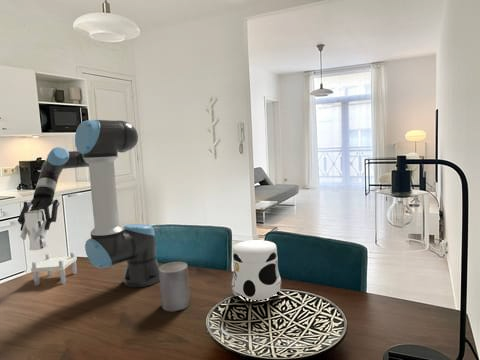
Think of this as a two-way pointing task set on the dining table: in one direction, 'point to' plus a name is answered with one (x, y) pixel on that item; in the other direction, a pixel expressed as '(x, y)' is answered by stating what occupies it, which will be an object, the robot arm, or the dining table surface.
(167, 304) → the pillar candle
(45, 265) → the shelf stand
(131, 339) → the dining table surface
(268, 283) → the milk container
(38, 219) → the silver metal goblet
